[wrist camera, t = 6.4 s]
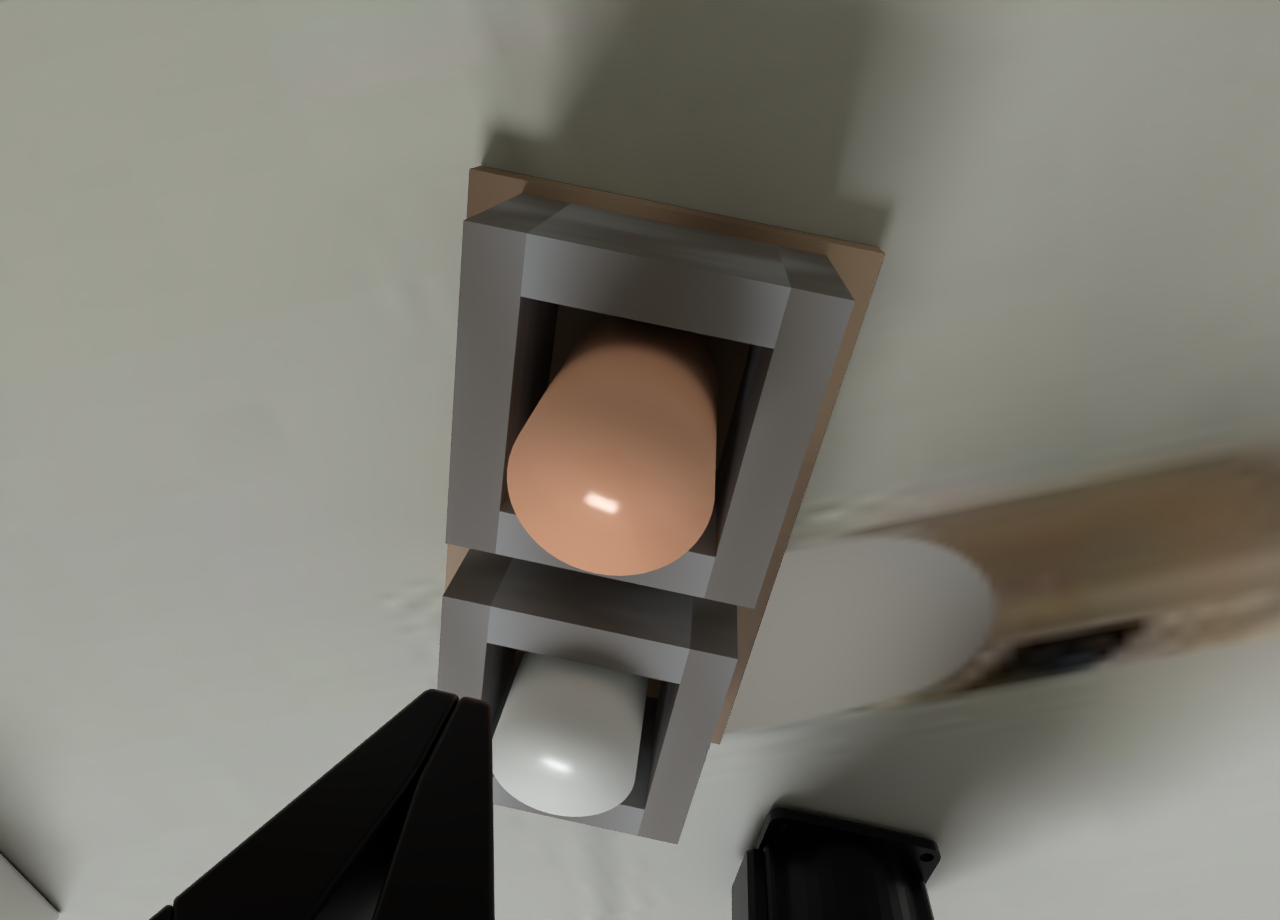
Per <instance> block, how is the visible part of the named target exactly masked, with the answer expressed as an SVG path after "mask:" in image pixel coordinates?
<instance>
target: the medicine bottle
mask: <svg viewBox="0 0 1280 920" xmlns="http://www.w3.org/2000/svg"><path fill="white" fill-rule="evenodd" d="M58 917H59V913H58V911H57V910H56V909H55V908H54V907H53V906H52V905H51V904H50V903H49V902H48V901H47V900H46V899H45V898H44V897H43V896H42V895H41V894H40V893H39V892H38V891H37V890H36V889H35V888H34V887H33V886H32V885H31V884H30V883H29V882H28V881H27V880H26V879H25V878H24V877H23V876H22V875H21V874H20V873H19V872H18V871H17V870H16V869H15V868H14V867H13V866H12V865H11V864H10V862H9V861H8V860H7V859H6V858H5V857H4V856H3V855H2V854H1V853H0V920H57V919H58Z"/></svg>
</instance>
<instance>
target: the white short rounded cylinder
mask: <svg viewBox="0 0 1280 920" xmlns="http://www.w3.org/2000/svg"><path fill="white" fill-rule="evenodd" d="M648 680H649V677H644V676H640V675H635V674H630V673H626V672H621V671H616V670H612V669H607V668H602V667H598V666H593V665H588V664H584V663H579V662H574V661H570V660H565V659H561V658H556V657H551V656H547V655H542V654H537V653H533V652H528V651H524V654H523V657H522V659H521V662H520V665H519V668H518V670H517V673H516V676H515V679H514V681H513V684H512V687H511V689H510V692H509V695H508V698H507V700H506V703H505V706H504V709H503V711H502V714H501V717H500V719H499V722H498V725H497V728H496V730H495V733H494V736H493V739H492V756H493V774H494V776H495V778H496V779H497V781H498V782H499V784H500V785H501V786H502V787H503V788H504V789H505V790H506V791H507V792H508V793H509V794H510V795H512V796H513V797H514V798H516V799H517V800H519V801H520V802H522V803H524V804H526V805H528V806H530V807H532V808H534V809H537V810H540V811H542V812H546V813H549V814H553V815H559V816H568V817H583V816H591V815H596V814H600V813H603V812H606V811H608V810H611V809H613V808H614V807H616V806H618V805H619V804H620V803H621V802H623V801H624V800H625V799H626V798H627V796H628V795H629V794H630V792H631V790H632V788H633V786H634V782H635V776H636V768H637V761H638V754H639V746H640V739H641V732H642V724H643V717H644V709H645V702H646V695H647V687H648Z"/></svg>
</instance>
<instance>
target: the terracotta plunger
mask: <svg viewBox="0 0 1280 920" xmlns="http://www.w3.org/2000/svg"><path fill="white" fill-rule="evenodd" d="M717 407H718V380H717V374H716V370H715V366H714V364H713V361H712V359H711V357H710V355H709V353H708V351H707V350H706V348H705V347H704V345H703V344H702V343H701V341H700V340H699V339H698V338H697V337H696V336H695V335H694V334H693V333H692V332H690V331H685V330H680V329H676V328H671V327H666V326H661V325H656V324H651V323H647V322H642V321H637V320H632V319H627V318H622V317H618V316H612V317H609V318H607V319H604V320H602V321H600V322H599V323H597V324H595V325H594V326H592V327H591V328H590V329H588V330H587V331H586V332H585V333H584V334H583V335H582V336H581V337H580V338H579V339H578V341H577V342H576V344H575V345H574V346H573V348H572V349H571V351H570V353H569V354H568V356H567V358H566V359H565V361H564V362H563V364H562V366H561V367H560V369H559V371H558V372H557V374H556V375H555V377H554V379H553V380H552V382H551V383H550V385H549V387H548V388H547V390H546V392H545V393H544V395H543V396H542V398H541V400H540V401H539V403H538V405H537V406H536V408H535V409H534V411H533V413H532V414H531V416H530V417H529V419H528V421H527V422H526V424H525V426H524V427H523V429H522V430H521V432H520V434H519V435H518V437H517V439H516V441H515V443H514V445H513V447H512V450H511V453H510V456H509V461H508V467H507V486H508V493H509V497H510V501H511V504H512V506H513V509H514V511H515V514H516V516H517V517H518V519H519V521H520V523H521V524H522V526H523V527H524V529H525V530H526V531H527V533H528V534H529V535H530V536H531V537H532V538H533V539H534V540H535V542H536V543H537V544H538V545H540V546H541V547H542V548H543V549H544V550H546V551H547V552H548V553H550V554H551V555H553V556H554V557H556V558H557V559H559V560H561V561H563V562H565V563H567V564H569V565H571V566H573V567H576V568H578V569H581V570H584V571H588V572H592V573H596V574H603V575H613V576H626V575H636V574H642V573H646V572H650V571H653V570H657V569H659V568H661V567H664V566H666V565H668V564H670V563H672V562H673V561H675V560H677V559H678V558H680V557H681V556H682V555H684V554H685V553H686V552H687V551H689V549H690V548H691V547H692V546H693V545H694V544H695V543H696V542H697V541H698V539H699V538H700V537H701V535H702V534H703V532H704V530H705V529H706V527H707V525H708V523H709V520H710V517H711V514H712V511H713V506H714V500H715V470H716V439H717Z"/></svg>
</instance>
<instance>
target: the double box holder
mask: <svg viewBox="0 0 1280 920" xmlns="http://www.w3.org/2000/svg"><path fill="white" fill-rule="evenodd" d="M884 255H885V253H884V252H883V251H882V250H881V249H880V248H879V247H874V246H869V245H864V244H859V243H854V242H849V241H844V240H839V239H835V238H830V237H825V236H820V235H815V234H810V233H805V232H800V231H795V230H790V229H786V228H781V227H776V226H771V225H766V224H761V223H756V222H751V221H746V220H742V219H737V218H732V217H727V216H722V215H717V214H712V213H707V212H702V211H698V210H693V209H688V208H683V207H678V206H673V205H668V204H663V203H658V202H654V201H649V200H644V199H639V198H634V197H629V196H624V195H619V194H614V193H610V192H605V191H600V190H595V189H590V188H585V187H580V186H575V185H570V184H565V183H561V182H556V181H551V180H546V179H541V178H536V177H531V176H526V175H521V174H517V173H512V172H507V171H502V170H497V169H492V168H487V167H482V166H478V167H475V168H471V169H470V171H469V188H468V205H467V219H466V220H464V223H463V241H462V259H461V277H460V295H459V312H458V330H457V348H456V366H455V384H454V402H453V420H452V438H451V455H450V473H449V491H448V509H447V527H446V543H447V544H448V551H447V568H446V585H445V593H444V595H443V598H442V616H441V634H440V652H439V670H438V688H437V690H440V691H444V692H449V693H453V694H456V695H457V696H458V697H459V699H460V698H461V697H471V698H475V699H480V700H484V701H488V702H489V703H490V704H491V706H492V739H493V736H494V733H495V730H496V728H497V725H498V722H499V719H500V717H501V714H502V711H503V709H504V706H505V703H506V700H507V698H508V695H509V692H510V689H511V687H512V684H513V681H514V679H515V676H516V673H517V670H518V668H519V665H520V662H521V659H522V657H523V654H524V651H528V652H533V653H537V654H542V655H547V656H551V657H556V658H561V659H565V660H570V661H574V662H579V663H584V664H588V665H593V666H598V667H602V668H607V669H612V670H616V671H621V672H626V673H630V674H635V675H640V676H644V677H649V680H648V687H647V695H646V702H645V709H644V717H643V724H642V732H641V739H640V746H639V754H638V761H637V768H636V776H635V782H634V786H633V788H632V790H631V792H630V794H629V795H628V796H627V798H626V799H625V800H624V801H623V802H621V803H620V804H619V805H618V806H616V807H614V808H613V809H611V810H608V811H606V812H603V813H600V814H596V815H591V816H583V817H568V816H559V815H553V814H549V813H546V812H542V811H540V810H537V809H534V808H532V807H530V806H528V805H526V804H524V803H522V802H520V801H519V800H517V799H516V798H514V797H513V796H512V795H510V794H509V793H508V792H507V791H506V790H505V789H504V788H503V787H502V786H501V785H500V784H499V782H498V781H497V779H496V778H495V776H494V774H493V804H495V805H500V806H505V807H509V808H514V809H518V810H523V811H527V812H532V813H537V814H541V815H546V816H550V817H555V818H559V819H564V820H569V821H573V822H578V823H582V824H587V825H591V826H596V827H601V828H605V829H610V830H614V831H619V832H623V833H628V834H633V835H637V836H642V837H646V838H651V839H655V840H660V841H665V842H669V843H674V844H678V841H679V838H680V835H681V832H682V829H683V826H684V823H685V820H686V817H687V814H688V810H689V807H690V804H691V801H692V798H693V795H694V792H695V789H696V786H697V783H698V780H699V777H700V774H701V771H702V768H703V765H704V762H705V758H706V755H707V752H708V749H709V746H710V743H711V742H712V743H716V744H720V742H721V739H722V736H723V734H724V730H725V728H726V724H727V722H728V719H729V716H730V713H731V710H732V707H733V704H734V701H735V698H736V695H737V692H738V689H739V686H740V683H741V680H742V677H743V674H744V671H745V668H746V665H747V662H748V659H749V656H750V653H751V650H752V647H753V644H754V641H755V638H756V636H757V633H758V630H759V627H760V624H761V621H762V617H763V615H764V612H765V609H766V606H767V603H768V600H769V597H770V594H771V591H772V588H773V585H774V582H775V579H776V576H777V573H778V570H779V567H780V564H781V561H782V558H783V555H784V552H785V549H786V546H787V543H788V540H789V538H790V535H791V532H792V529H793V526H794V523H795V520H796V517H797V514H798V511H799V508H800V505H801V502H802V499H803V496H804V493H805V490H806V487H807V484H808V481H809V478H810V475H811V472H812V469H813V466H814V463H815V460H816V457H817V454H818V451H819V448H820V445H821V442H822V440H823V437H824V434H825V431H826V428H827V425H828V422H829V419H830V416H831V413H832V410H833V407H834V404H835V401H836V398H837V395H838V392H839V389H840V386H841V383H842V380H843V377H844V374H845V371H846V368H847V365H848V362H849V359H850V356H851V353H852V350H853V347H854V344H855V342H856V339H857V336H858V333H859V330H860V327H861V324H862V321H863V318H864V315H865V312H866V309H867V306H868V303H869V300H870V297H871V294H872V291H873V288H874V285H875V282H876V279H877V276H878V273H879V270H880V267H881V264H882V261H883V258H884ZM612 316H618V317H622V318H627V319H632V320H637V321H642V322H647V323H651V324H656V325H661V326H666V327H671V328H676V329H680V330H685V331H690V332H692V333H693V334H694V335H695V336H696V337H697V338H698V339H699V340H700V341H701V343H702V344H703V345H704V347H705V348H706V350H707V351H708V353H709V355H710V357H711V359H712V361H713V364H714V366H715V370H716V374H717V380H718V407H717V439H716V470H715V500H714V506H713V511H712V514H711V517H710V520H709V523H708V525H707V527H706V529H705V530H704V532H703V534H702V535H701V537H700V538H699V539H698V541H697V542H696V543H695V544H694V545H693V546H692V547H691V548H690V549H689V551H687V552H686V553H685V554H684V555H682V556H681V557H680V558H678V559H677V560H675V561H673V562H672V563H670V564H668V565H666V566H664V567H661V568H659V569H657V570H653V571H650V572H646V573H642V574H636V575H626V576H613V575H603V574H596V573H592V572H588V571H584V570H581V569H578V568H576V567H573V566H571V565H569V564H567V563H565V562H563V561H561V560H559V559H557V558H556V557H554V556H553V555H551V554H550V553H548V552H547V551H546V550H544V549H543V548H542V547H541V546H540V545H538V544H537V543H536V542H535V540H534V539H533V538H532V537H531V536H530V535H529V534H528V533H527V531H526V530H525V529H524V527H523V526H522V524H521V523H520V521H519V519H518V517H517V516H516V514H515V511H514V509H513V506H512V504H511V501H510V497H509V493H508V486H507V467H508V461H509V456H510V453H511V450H512V447H513V445H514V443H515V441H516V439H517V437H518V435H519V434H520V432H521V430H522V429H523V427H524V426H525V424H526V422H527V421H528V419H529V417H530V416H531V414H532V413H533V411H534V409H535V408H536V406H537V405H538V403H539V401H540V400H541V398H542V396H543V395H544V393H545V392H546V390H547V388H548V387H549V385H550V383H551V382H552V380H553V379H554V377H555V375H556V374H557V372H558V371H559V369H560V367H561V366H562V364H563V362H564V361H565V359H566V358H567V356H568V354H569V353H570V351H571V349H572V348H573V346H574V345H575V344H576V342H577V341H578V339H579V338H580V337H581V336H582V335H583V334H584V333H585V332H586V331H587V330H588V329H590V328H591V327H592V326H594V325H595V324H597V323H599V322H600V321H602V320H604V319H607V318H609V317H612Z"/></svg>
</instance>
